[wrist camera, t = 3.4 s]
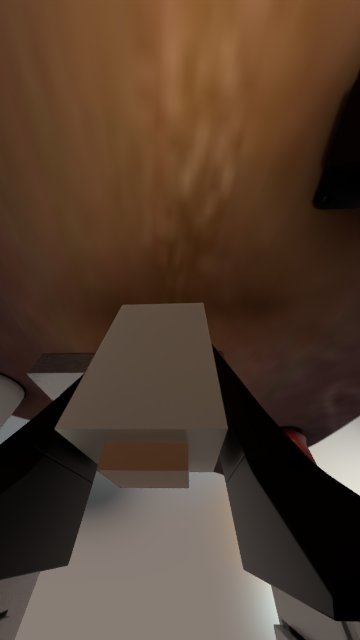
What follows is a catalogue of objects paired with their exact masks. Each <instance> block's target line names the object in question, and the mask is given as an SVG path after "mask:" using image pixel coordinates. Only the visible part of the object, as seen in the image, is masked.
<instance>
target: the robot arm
mask: <svg viewBox="0 0 360 640" xmlns="http://www.w3.org/2000/svg"><path fill="white" fill-rule="evenodd" d="M327 162H328V164H327V166H326V169H325V172H324V174H323V177H322V180H321V183H320V185H319V188H318V191H317V193H316V196H315V199H314V207H315V208H316V209H323V210H325V209H350V208H360V77H359V79H358V80H357V81H356V83H355V85H354V87H353V90H352V93H351V95H350V98H349V101H348V104H347V106H346V109H345V112H344V115H343V117H342V120H341V123H340V126H339V128H338V131H337V134H336V137H335V139H334V142H333V145H332V148H331V150H330V153H329V156H328V159H327ZM327 194H328V199H327V201H326V202H325V203H323V199H324V197H325V196H326V195H327ZM211 345H212V344H211ZM212 350H213V355H214V360H215V365H216V370H217V375H218V380H219V385H220V390H221V396H222V401H223V406H224V411H225V416H226V421H227V426H228V430H227V433H226V436H225V439H224V442H223V445H222V448H221V450H220V457H221V462H222V467H223V472H224V477H225V481H226V486H227V491H228V496H229V501H230V506H231V511H232V516H233V520H234V525H235V530H236V535H237V540H238V545H239V549H240V554H241V559H242V564H243V569H244V570H245V571H247V572H249V573H251V574H253V575H255V576H256V577H258V578H260V579H261V580H264V581H265V582H267V583H269V584H270V585H271V587H272V591H273V596H274V600H275V605H276V609H277V613H278V617H279V622H280V625H274V630H275V634H276V640H360V496H359V495H358V494H356V493H355V492H353V491H352V490H350V489H349V488H347V487H345V486H344V485H343V484H341V483H340V482H338V481H337V480H335V479H334V478H332V477H331V476H330V475H328V474H326V472H324V471H323V470H322V469H320V468H319V467H318V466H317V465H316V464H315V463H314V462H313V461H312V460H310V459H309V457H308V456H307V455H306V454H305V453H304V452H303V451H302V450H301V449H300V448H299V447H298V446H297V445H296V444H295V443H294V442H293V441H292V440H291V439H290V437H289V436H288V435H287V434H286V433H285V432H284V431H283V430H282V429H281V428H280V427H279V426H278V425H277V424H276V423H275V421H274V420H273V419H272V418H271V417H270V416H269V415H268V414H267V413H266V411H265V410H264V409H263V408H262V407H261V405H260V404H259V403H258V402H257V400H256V399H255V398H254V397H253V395H251V393H250V392H249V390H248V389H247V388H246V387H245V385H244V384H243V383H242V381H241V380H240V379H239V378H238V376H237V375H236V374H235V373H234V371H233V370H232V369H231V367H230V366H229V365H228V364H227V362H226V361H225V360H224V359H223V357H222V356H221V355H220V354H219V352H218V351H217V350H216V348H215V347H214V346H213V345H212ZM84 374H85V373H84ZM84 374H83V375H82V376H80V377H79V378H78V379H77V380H76V381H75V382H74V383H73V384H72V385H70V386H69V387H68V388H67V389H66V390H65V391H64V392H63V393H62V394H60V396H59V397H57V398H56V399H55V400H54V401H53V402H51V403H50V404H49V405H48V406H47V407H46V408H45V409H43V410H42V411H41V412H40V413H39V414H38V415H36V416H35V417H34V418H33V419H32V420H30V421H29V422H28V423H27V424H25V425H24V426H23V427H22V428H21V429H19V430H18V431H17V432H15V433H14V434H13V435H12V436H10V437H9V438H8V439H7V440H5V441H4V442H3V443H2V444H0V640H14V639H15V637H16V634H17V632H18V629H19V626H20V624H21V621H22V618H23V616H24V613H25V610H26V608H27V605H28V602H29V600H30V597H31V594H32V592H33V589H34V587H35V584H36V581H37V579H38V576H39V573H40V571H45V570H49V569H54V568H58V567H63V566H67V565H68V563H69V560H70V557H71V554H72V551H73V548H74V544H75V541H76V538H77V534H78V531H79V527H80V524H81V521H82V517H83V514H84V511H85V507H86V504H87V500H88V497H89V494H90V491H91V487H92V484H93V480H94V477H95V474H96V470H97V467H98V464H97V463H95V462H94V461H93V460H92V459H90V458H89V457H88V456H87V455H86V454H84V453H83V452H82V451H81V450H79V449H78V448H77V447H76V446H74V445H73V444H72V443H71V442H70V441H68V440H67V439H66V438H65V437H63V436H62V435H61V434H60V433H58V432H57V431H56V430H55V427H56V425H57V423H58V421H59V420H60V418H61V416H62V414H63V412H64V410H65V409H66V407H67V405H68V403H69V401H70V399H71V398H72V396H73V394H74V392H75V390H76V388H77V387H78V385H79V383H80V381H81V379H82V378H83V376H84Z"/></svg>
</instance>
